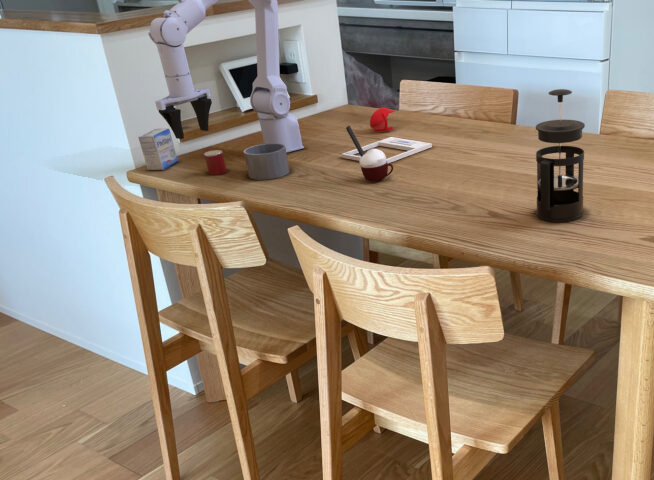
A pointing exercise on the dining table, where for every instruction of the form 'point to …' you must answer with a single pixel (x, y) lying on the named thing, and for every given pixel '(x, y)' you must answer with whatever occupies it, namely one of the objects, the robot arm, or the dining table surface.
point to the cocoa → (371, 161)
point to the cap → (380, 120)
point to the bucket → (266, 161)
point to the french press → (558, 190)
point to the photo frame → (392, 143)
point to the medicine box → (158, 149)
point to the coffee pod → (215, 162)
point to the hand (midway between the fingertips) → (192, 134)
